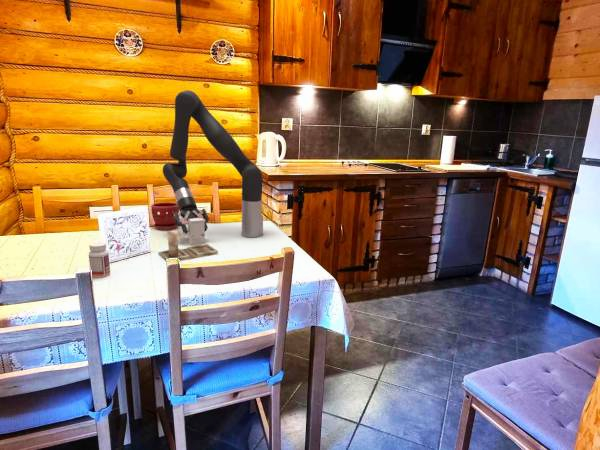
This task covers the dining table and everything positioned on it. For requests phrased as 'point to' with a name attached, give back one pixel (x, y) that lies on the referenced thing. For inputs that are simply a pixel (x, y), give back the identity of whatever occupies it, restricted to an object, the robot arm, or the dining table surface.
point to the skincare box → (196, 231)
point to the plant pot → (164, 215)
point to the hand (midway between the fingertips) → (196, 231)
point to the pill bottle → (99, 259)
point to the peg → (173, 243)
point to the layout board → (191, 252)
